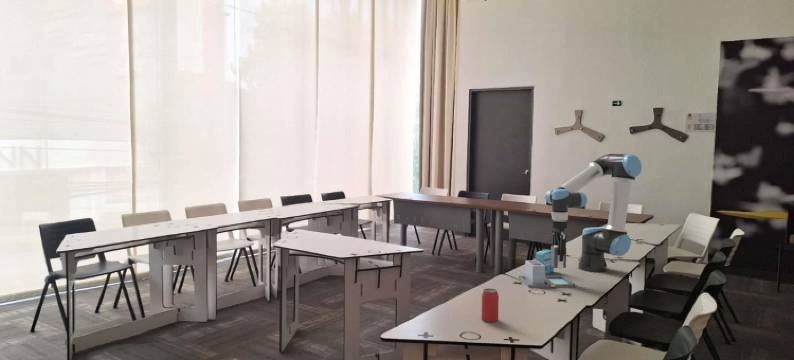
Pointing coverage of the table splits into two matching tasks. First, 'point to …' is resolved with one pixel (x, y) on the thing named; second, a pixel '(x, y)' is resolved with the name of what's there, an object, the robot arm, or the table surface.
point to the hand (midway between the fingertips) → (558, 266)
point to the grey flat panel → (550, 282)
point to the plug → (556, 257)
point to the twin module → (534, 272)
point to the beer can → (490, 305)
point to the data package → (545, 260)
